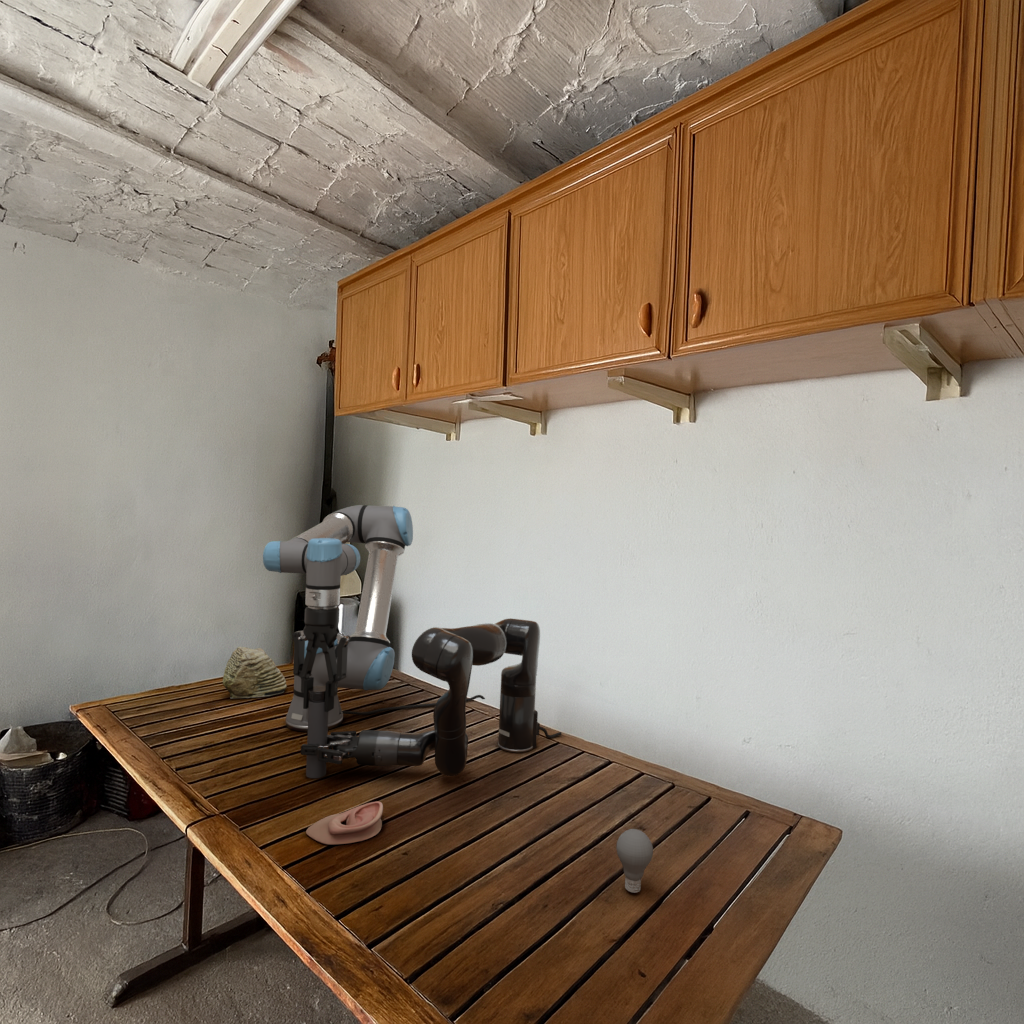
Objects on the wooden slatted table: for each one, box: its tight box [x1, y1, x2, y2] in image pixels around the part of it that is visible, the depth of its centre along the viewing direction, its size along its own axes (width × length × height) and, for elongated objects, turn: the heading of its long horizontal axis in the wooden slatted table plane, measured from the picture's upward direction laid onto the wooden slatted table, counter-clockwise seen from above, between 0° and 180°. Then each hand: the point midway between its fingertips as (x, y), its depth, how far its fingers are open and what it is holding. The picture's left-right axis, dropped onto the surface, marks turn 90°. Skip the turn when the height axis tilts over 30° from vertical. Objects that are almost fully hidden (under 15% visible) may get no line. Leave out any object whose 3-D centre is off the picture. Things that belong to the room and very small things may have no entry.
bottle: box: [305, 699, 329, 779], centre depth 144 cm, size 4×4×19 cm
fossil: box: [222, 646, 288, 699], centre depth 198 cm, size 9×18×15 cm, turn 132°
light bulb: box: [615, 828, 654, 894], centre depth 106 cm, size 6×6×10 cm
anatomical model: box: [305, 800, 384, 846], centre depth 121 cm, size 13×4×12 cm
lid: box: [308, 686, 326, 701], centre depth 144 cm, size 5×5×2 cm
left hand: (318, 708), depth 144 cm, fingers closed on lid, 5 cm apart
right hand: (305, 745), depth 144 cm, fingers closed on bottle, 4 cm apart
